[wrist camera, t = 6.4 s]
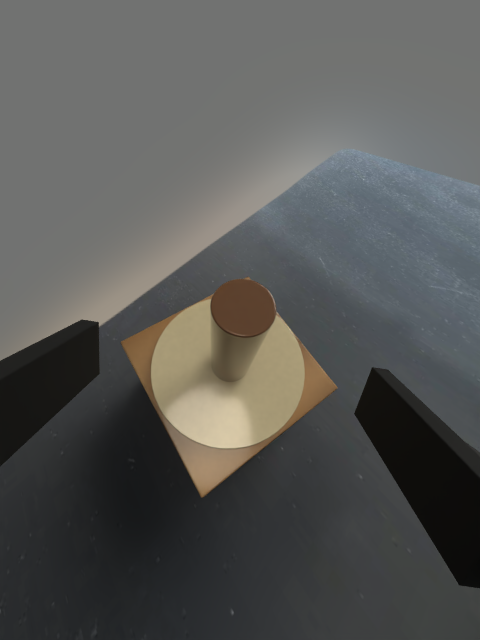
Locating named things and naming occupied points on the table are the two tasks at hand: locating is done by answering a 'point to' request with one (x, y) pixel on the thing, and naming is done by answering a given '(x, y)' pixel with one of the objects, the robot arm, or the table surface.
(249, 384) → the lid
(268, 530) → the table surface
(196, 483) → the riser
